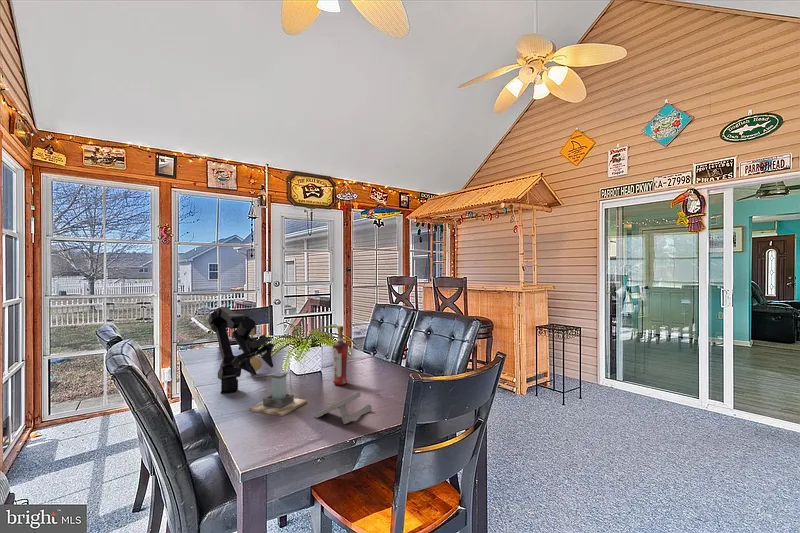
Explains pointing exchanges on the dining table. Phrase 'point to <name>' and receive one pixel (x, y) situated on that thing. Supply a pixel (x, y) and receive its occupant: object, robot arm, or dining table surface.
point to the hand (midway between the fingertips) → (264, 370)
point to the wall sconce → (255, 361)
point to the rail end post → (278, 386)
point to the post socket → (278, 405)
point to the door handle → (342, 407)
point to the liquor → (340, 359)
